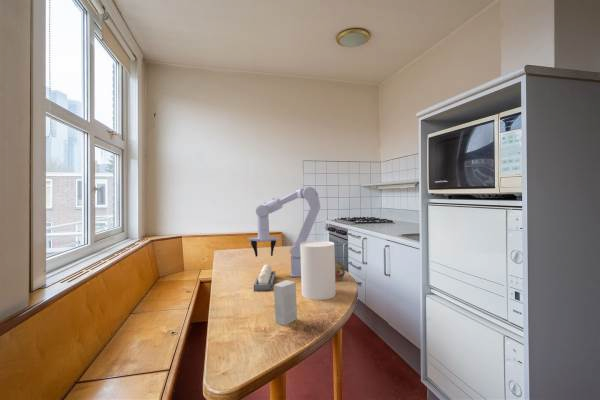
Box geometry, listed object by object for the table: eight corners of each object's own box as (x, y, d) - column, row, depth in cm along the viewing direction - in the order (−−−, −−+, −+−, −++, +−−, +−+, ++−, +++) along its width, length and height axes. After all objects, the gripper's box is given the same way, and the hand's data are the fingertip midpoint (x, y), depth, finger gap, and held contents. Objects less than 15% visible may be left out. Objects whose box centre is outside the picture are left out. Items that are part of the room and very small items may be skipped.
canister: (334, 300, 106) (332, 246, 106) (298, 299, 109) (297, 246, 109) (336, 288, 120) (335, 241, 119) (305, 287, 122) (303, 240, 122)
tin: (312, 280, 133) (311, 261, 133) (313, 278, 136) (313, 260, 136) (344, 282, 129) (344, 263, 129) (345, 279, 132) (345, 261, 132)
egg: (269, 284, 126) (269, 270, 125) (268, 288, 121) (267, 273, 121) (259, 285, 125) (258, 270, 125) (257, 288, 121) (257, 273, 121)
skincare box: (287, 316, 94) (286, 279, 94) (297, 319, 91) (296, 281, 91) (274, 322, 89) (273, 284, 89) (284, 326, 87) (283, 287, 86)
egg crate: (275, 276, 141) (275, 262, 141) (271, 290, 120) (271, 274, 120) (260, 276, 141) (260, 262, 141) (253, 290, 120) (253, 274, 120)
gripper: (247, 230, 140) (248, 258, 140) (277, 229, 140) (278, 257, 140) (249, 228, 147) (250, 255, 147) (278, 227, 147) (279, 254, 147)
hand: (264, 256), depth 144 cm, fingers open, 7 cm apart
